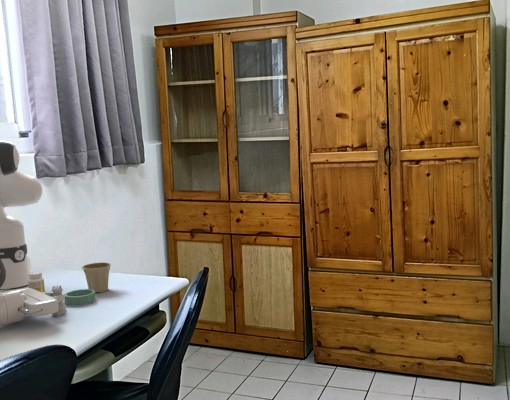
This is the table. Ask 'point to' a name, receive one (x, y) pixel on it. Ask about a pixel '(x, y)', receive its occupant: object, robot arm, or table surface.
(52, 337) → the table surface
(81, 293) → the bowl
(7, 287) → the robot arm
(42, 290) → the supplement bottle
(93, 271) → the flower pot
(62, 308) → the rook chess piece
